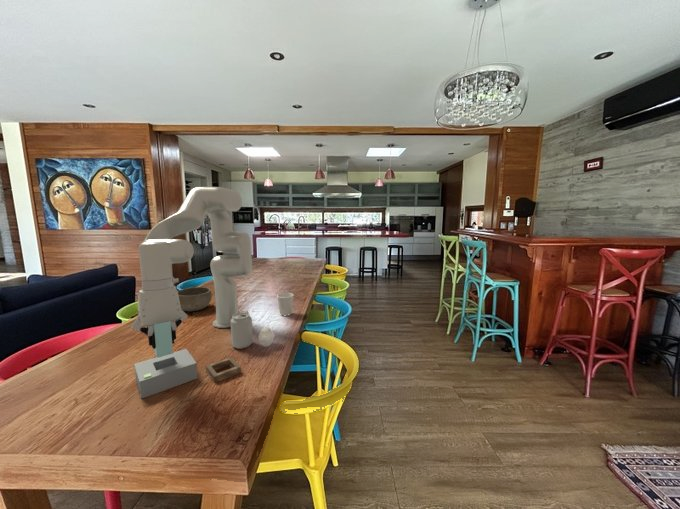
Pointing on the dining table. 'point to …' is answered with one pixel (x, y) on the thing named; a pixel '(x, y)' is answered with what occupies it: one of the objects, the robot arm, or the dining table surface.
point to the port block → (165, 372)
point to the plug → (163, 339)
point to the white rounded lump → (266, 337)
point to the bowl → (194, 298)
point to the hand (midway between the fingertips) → (163, 344)
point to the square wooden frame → (224, 374)
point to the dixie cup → (285, 303)
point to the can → (241, 330)
